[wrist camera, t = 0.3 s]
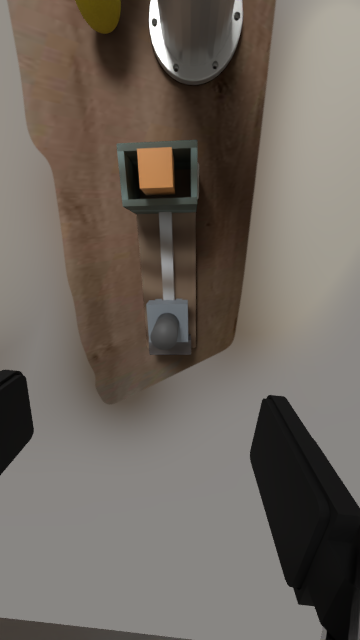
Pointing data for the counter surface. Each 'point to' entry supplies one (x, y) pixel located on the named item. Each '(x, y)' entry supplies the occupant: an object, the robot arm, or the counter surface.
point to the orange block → (156, 171)
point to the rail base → (179, 254)
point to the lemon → (100, 14)
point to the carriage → (167, 322)
